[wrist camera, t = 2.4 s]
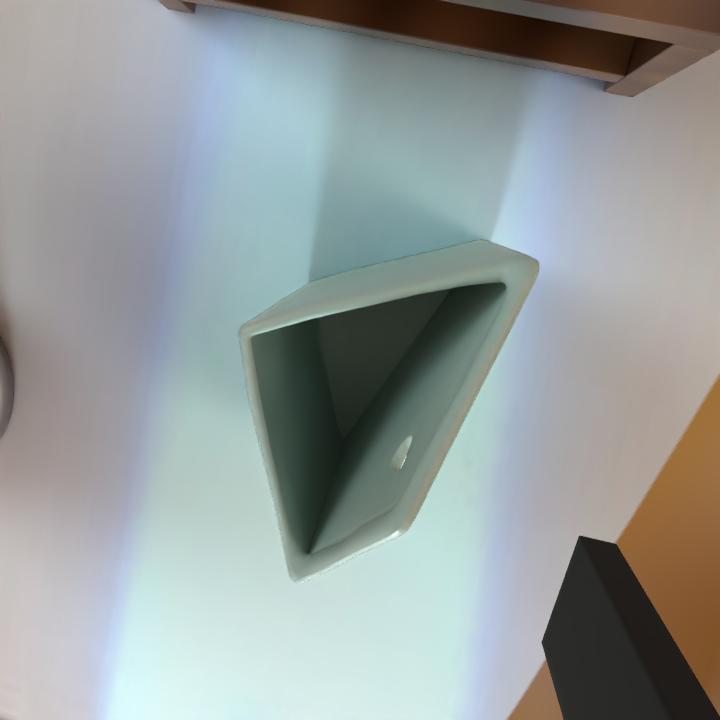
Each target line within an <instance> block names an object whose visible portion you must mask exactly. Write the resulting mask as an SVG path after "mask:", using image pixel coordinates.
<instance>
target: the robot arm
mask: <svg viewBox="0 0 720 720" xmlns="http://www.w3.org/2000/svg"><path fill="white" fill-rule="evenodd" d="M13 398H14V383H13V375H12V369H11V365H10V361H9V358H8V355H7V351H6V349H5V347H4V344H3V342H2V340H1V338H0V438H1V437H2V435H3V433H4V431H5V429H6V427H7V425H8V422H9V419H10V416H11V412H12V407H13ZM542 645H543V649H544V652H545V656H546V659H547V663H548V666H549V670H550V673H551V677H552V680H553V684H554V687H555V691H556V694H557V698H558V701H559V705H560V708H561V712H562V715H563V719H564V720H720V716H719V715H718V713H717V711H716V710H715V708H714V706H713V705H712V703H711V701H710V700H709V698H708V696H707V695H706V693H705V691H704V690H703V688H702V686H701V685H700V683H699V681H698V680H697V678H696V676H695V674H694V673H693V671H692V669H691V668H690V666H689V665H688V663H687V661H686V659H685V658H684V656H683V654H682V653H681V651H680V649H679V648H678V646H677V644H676V643H675V641H674V639H673V638H672V636H671V635H670V633H669V631H668V630H667V628H666V626H665V624H664V623H663V621H662V619H661V618H660V616H659V614H658V613H657V611H656V610H655V608H654V606H653V604H652V603H651V601H650V600H649V598H648V596H647V595H646V593H645V591H644V589H643V588H642V586H641V585H640V583H639V581H638V579H637V578H636V576H635V575H634V573H633V571H632V570H631V568H630V566H629V564H628V563H627V561H626V559H625V558H624V556H623V554H622V553H621V551H620V549H619V548H618V546H617V544H614V543H610V542H605V541H601V540H597V539H592V538H588V537H584V536H579V538H578V540H577V543H576V546H575V549H574V552H573V555H572V557H571V560H570V563H569V566H568V569H567V572H566V574H565V577H564V580H563V583H562V586H561V589H560V591H559V594H558V597H557V600H556V603H555V606H554V608H553V611H552V614H551V617H550V620H549V623H548V625H547V628H546V631H545V634H544V637H543V640H542Z"/></svg>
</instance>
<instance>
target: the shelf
mask: <svg viewBox="0 0 720 720" xmlns="http://www.w3.org/2000/svg"><path fill="white" fill-rule="evenodd" d="M158 1H159V2H160V3H161V4H163V5H164V6H165V7H166V8H168V9H171V10H176V11H181V12H187V13H192V14H193V13H194V11H195V3H197V4H202V5H207V6H213V7H218V8H223V9H229V10H234V11H239V12H244V13H250V14H255V15H260V16H266V17H271V18H276V19H282V20H287V21H292V22H297V23H303V24H308V25H313V26H319V27H324V28H329V29H334V30H340V31H345V32H350V33H356V34H361V35H366V36H371V37H377V38H382V39H387V40H393V41H398V42H403V43H409V44H414V45H419V46H424V47H430V48H435V49H440V50H446V51H451V52H456V53H461V54H467V55H472V56H477V57H483V58H488V59H493V60H499V61H504V62H509V63H514V64H520V65H525V66H530V67H536V68H541V69H546V70H551V71H557V72H562V73H567V74H573V75H578V76H583V77H588V78H594V79H599V80H604V81H607V82H606V85H605V88H604V92H608V93H613V94H618V95H624V96H629V97H634V96H635V95H637V94H639V93H641V92H643V91H645V90H646V89H648V88H650V87H652V86H654V85H655V84H657V83H659V82H661V81H663V80H665V79H666V78H668V77H670V76H672V75H674V74H676V73H677V72H679V71H681V70H683V69H685V68H686V67H688V66H690V65H692V64H694V63H696V62H697V61H699V60H701V59H703V58H705V57H706V56H708V55H710V54H712V53H714V52H715V51H717V50H719V49H720V0H158Z"/></svg>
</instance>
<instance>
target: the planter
mask: <svg viewBox="0 0 720 720" xmlns="http://www.w3.org/2000/svg"><path fill="white" fill-rule="evenodd" d="M538 273H539V262H538V261H537V260H536V259H534V258H532V257H530V256H528V255H526V254H523V253H520V252H518V251H515V250H512V249H509V248H506V247H504V246H501V245H498V244H495V243H492V242H490V241H486V240H474V241H470V242H466V243H462V244H458V245H454V246H450V247H446V248H442V249H438V250H434V251H429V252H425V253H421V254H417V255H412V256H408V257H404V258H400V259H395V260H391V261H387V262H382V263H378V264H374V265H370V266H365V267H361V268H357V269H353V270H349V271H345V272H342V273H339V274H335V275H332V276H328V277H325V278H322V279H318V280H315V281H311V282H309V283H307V284H306V285H304V286H303V287H301V288H300V289H298V290H296V291H295V292H293V293H291V294H290V295H288V296H286V297H285V298H283V299H282V300H280V301H279V302H277V303H276V304H274V305H273V306H271V307H270V308H268V309H267V310H265V311H264V312H262V313H261V314H259V315H258V316H256V317H254V318H253V319H251V320H250V321H248V322H247V323H245V324H243V325H242V326H241V327H240V329H239V333H238V335H239V341H240V347H241V354H242V360H243V367H244V373H245V380H246V386H247V393H248V399H249V403H250V407H251V411H252V416H253V420H254V424H255V428H256V433H257V437H258V441H259V445H260V450H261V454H262V458H263V461H264V465H265V469H266V473H267V477H268V481H269V485H270V489H271V493H272V497H273V501H274V505H275V510H276V515H277V520H278V524H279V529H280V534H281V539H282V543H283V548H284V553H285V559H286V564H287V568H288V572H289V575H290V578H291V579H292V580H293V581H294V582H295V583H299V584H300V583H303V582H306V581H308V580H310V579H312V578H314V577H316V576H318V575H321V574H323V573H325V572H327V571H329V570H331V569H333V568H335V567H337V566H339V565H341V564H343V563H345V562H347V561H348V560H350V559H352V558H354V557H356V556H358V555H360V554H362V553H364V552H366V551H368V550H370V549H372V548H375V547H377V546H379V545H382V544H384V543H386V542H388V541H390V540H392V539H395V538H397V537H399V536H401V535H403V534H404V533H405V532H406V531H407V530H408V529H409V528H410V526H411V525H412V523H413V521H414V519H415V518H416V516H417V514H418V512H419V510H420V508H421V506H422V504H423V502H424V500H425V498H426V496H427V494H428V491H429V489H430V487H431V485H432V483H433V481H434V479H435V477H436V475H437V473H438V471H439V469H440V467H441V465H442V463H443V461H444V459H445V457H446V455H447V453H448V451H449V449H450V447H451V445H452V444H453V442H454V440H455V438H456V436H457V434H458V432H459V430H460V428H461V426H462V424H463V422H464V420H465V418H466V416H467V414H468V412H469V410H470V408H471V406H472V404H473V402H474V400H475V398H476V396H477V394H478V393H479V391H480V389H481V387H482V385H483V383H484V381H485V379H486V377H487V375H488V373H489V371H490V369H491V367H492V365H493V363H494V361H495V360H496V358H497V356H498V354H499V352H500V350H501V348H502V346H503V344H504V342H505V340H506V338H507V336H508V334H509V332H510V330H511V328H512V326H513V324H514V322H515V320H516V318H517V316H518V314H519V312H520V310H521V308H522V306H523V304H524V302H525V300H526V298H527V296H528V294H529V292H530V290H531V288H532V286H533V284H534V282H535V280H536V278H537V275H538ZM406 455H407V457H406ZM405 457H406V460H405V462H404V464H403V466H402V468H401V469H400V467H401V464H402V462H403V460H404V458H405Z"/></svg>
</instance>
